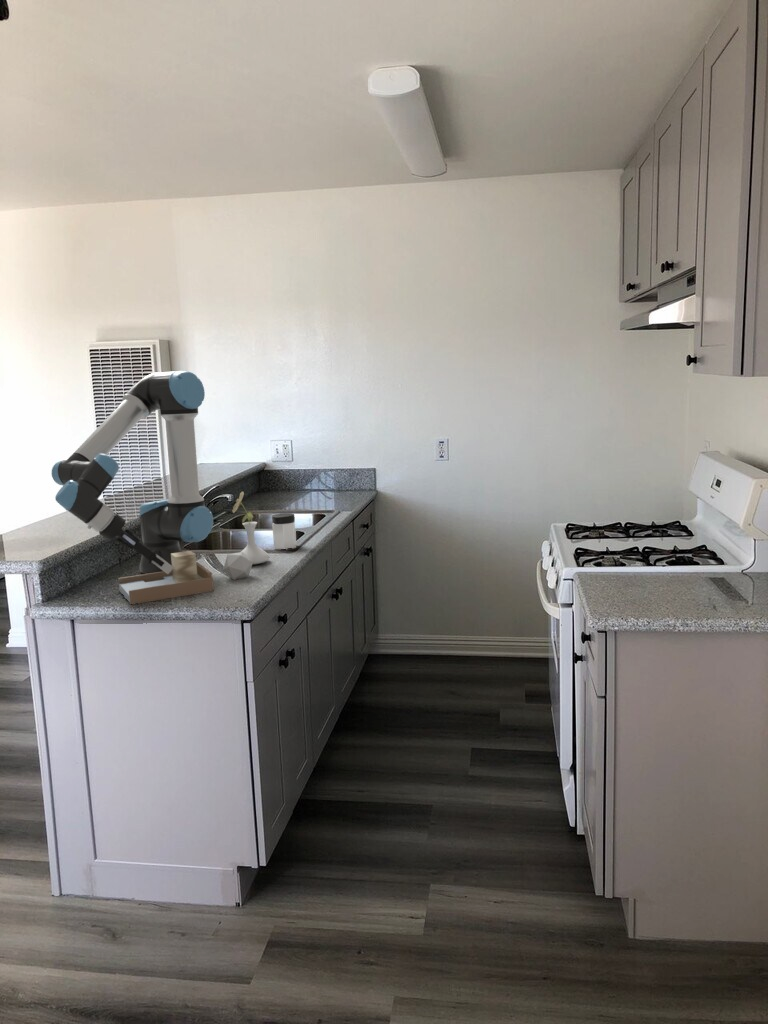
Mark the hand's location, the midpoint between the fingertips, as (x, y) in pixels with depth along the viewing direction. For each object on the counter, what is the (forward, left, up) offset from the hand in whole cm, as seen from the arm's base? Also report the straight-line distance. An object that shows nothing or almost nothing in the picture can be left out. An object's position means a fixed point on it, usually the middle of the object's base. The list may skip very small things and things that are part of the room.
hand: (170, 570), depth 245 cm
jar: (-6, +60, -6) cm, 61 cm away
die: (+9, +19, -6) cm, 22 cm away
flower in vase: (0, +35, -6) cm, 36 cm away
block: (+2, +4, -4) cm, 6 cm away
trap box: (-1, -2, -6) cm, 6 cm away
